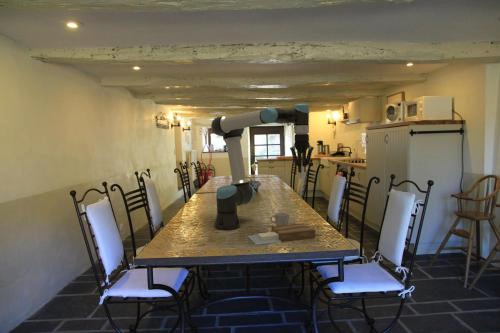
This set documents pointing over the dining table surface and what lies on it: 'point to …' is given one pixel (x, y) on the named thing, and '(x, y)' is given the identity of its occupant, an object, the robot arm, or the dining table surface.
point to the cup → (281, 218)
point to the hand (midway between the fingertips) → (301, 178)
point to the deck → (294, 232)
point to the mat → (259, 242)
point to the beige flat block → (268, 236)
